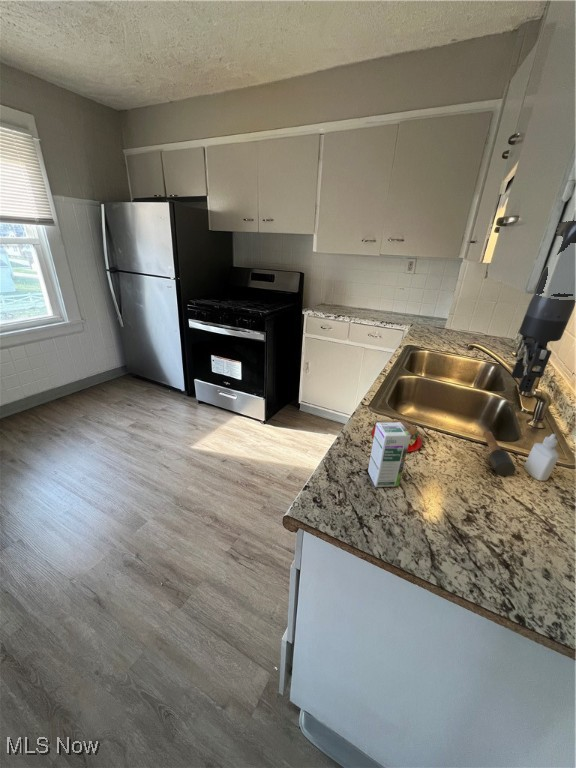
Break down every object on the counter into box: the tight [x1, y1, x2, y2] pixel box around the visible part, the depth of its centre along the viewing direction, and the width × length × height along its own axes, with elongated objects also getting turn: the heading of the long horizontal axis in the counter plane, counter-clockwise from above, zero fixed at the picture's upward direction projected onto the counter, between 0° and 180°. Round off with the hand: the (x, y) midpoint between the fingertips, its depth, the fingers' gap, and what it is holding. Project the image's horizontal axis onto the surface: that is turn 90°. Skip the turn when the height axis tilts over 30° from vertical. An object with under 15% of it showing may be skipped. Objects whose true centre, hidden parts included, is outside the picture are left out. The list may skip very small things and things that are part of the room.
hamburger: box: [371, 419, 423, 453], centre depth 90 cm, size 14×14×6 cm
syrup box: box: [367, 421, 410, 488], centre depth 72 cm, size 6×6×14 cm
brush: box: [483, 430, 517, 477], centre depth 83 cm, size 4×4×15 cm
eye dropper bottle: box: [523, 433, 560, 482], centre depth 77 cm, size 4×6×12 cm
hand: (519, 383), depth 74 cm, fingers open, 8 cm apart
